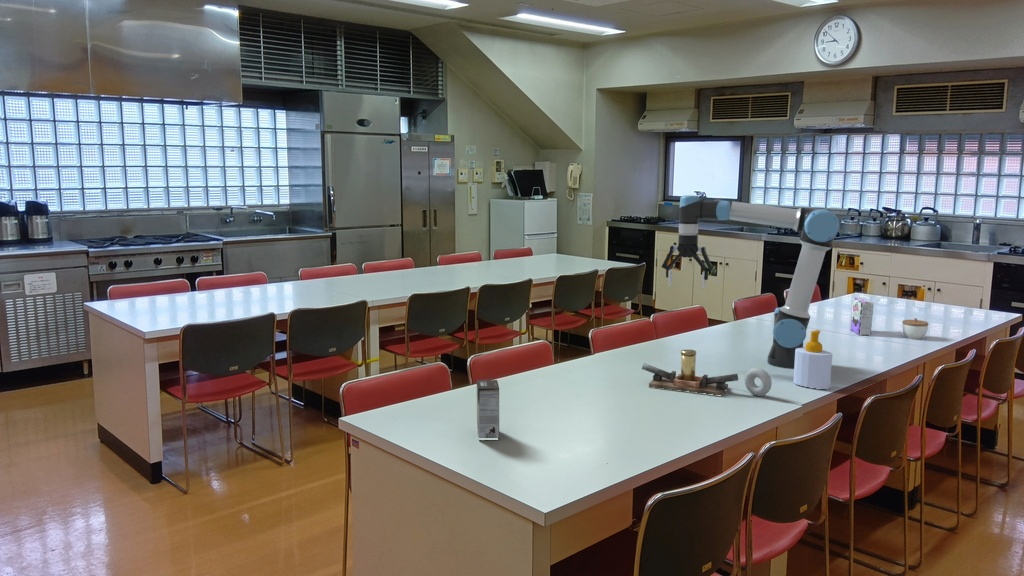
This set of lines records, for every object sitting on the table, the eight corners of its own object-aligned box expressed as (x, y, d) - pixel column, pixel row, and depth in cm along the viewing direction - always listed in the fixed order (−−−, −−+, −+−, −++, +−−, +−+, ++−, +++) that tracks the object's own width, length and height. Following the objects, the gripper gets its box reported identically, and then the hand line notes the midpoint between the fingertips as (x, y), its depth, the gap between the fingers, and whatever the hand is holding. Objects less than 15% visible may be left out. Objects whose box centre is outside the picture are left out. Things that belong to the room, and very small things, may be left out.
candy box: (849, 329, 370) (852, 296, 368) (862, 330, 369) (864, 297, 367) (858, 335, 357) (860, 301, 354) (871, 336, 356) (874, 302, 353)
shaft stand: (740, 389, 270) (741, 369, 269) (734, 398, 259) (735, 378, 258) (646, 377, 285) (647, 359, 284) (637, 385, 275) (637, 366, 274)
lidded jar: (931, 340, 347) (933, 320, 345) (908, 340, 347) (909, 320, 345) (919, 335, 357) (921, 316, 356) (897, 335, 357) (898, 316, 356)
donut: (772, 397, 260) (774, 370, 259) (767, 399, 258) (769, 371, 256) (747, 391, 268) (748, 364, 266) (741, 393, 265) (743, 366, 264)
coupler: (696, 382, 274) (696, 349, 272) (695, 385, 269) (695, 353, 267) (681, 381, 276) (681, 349, 274) (679, 384, 271) (680, 352, 269)
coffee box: (476, 430, 228) (476, 379, 225) (497, 430, 229) (497, 379, 226) (477, 441, 219) (477, 388, 217) (499, 440, 220) (499, 387, 217)
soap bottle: (834, 387, 273) (837, 332, 270) (825, 392, 267) (829, 336, 264) (798, 380, 282) (801, 327, 278) (789, 384, 276) (792, 331, 273)
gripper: (721, 234, 296) (719, 287, 300) (660, 232, 307) (658, 283, 311) (718, 236, 290) (715, 290, 293) (655, 233, 301) (653, 285, 304)
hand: (686, 286), depth 302 cm, fingers open, 13 cm apart
